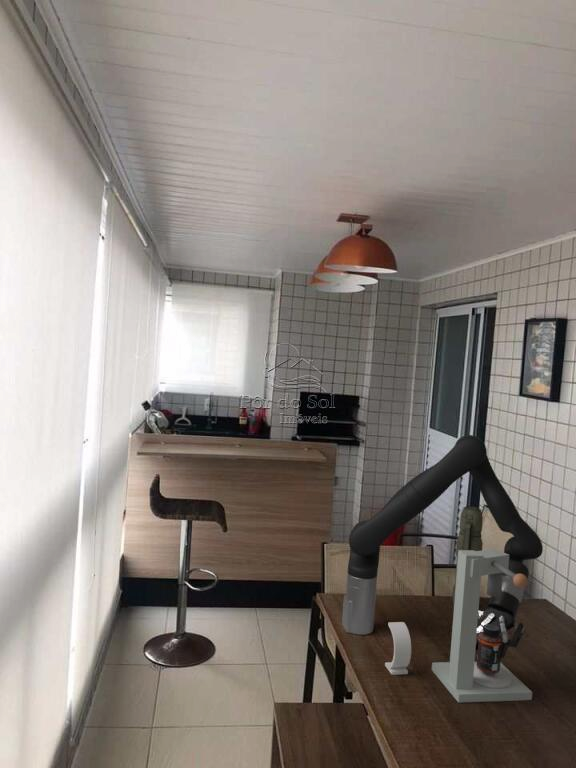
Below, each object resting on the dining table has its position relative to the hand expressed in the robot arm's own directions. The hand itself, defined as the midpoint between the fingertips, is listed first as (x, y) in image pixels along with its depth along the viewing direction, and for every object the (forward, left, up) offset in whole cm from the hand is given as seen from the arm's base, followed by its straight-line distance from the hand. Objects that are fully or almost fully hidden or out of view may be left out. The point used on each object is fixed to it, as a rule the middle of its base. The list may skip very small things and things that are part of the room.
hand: (486, 653), depth 156 cm
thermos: (+21, +53, -9) cm, 58 cm away
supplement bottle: (+1, +1, -5) cm, 5 cm away
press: (-1, -4, -9) cm, 10 cm away
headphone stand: (-21, +9, -9) cm, 24 cm away
